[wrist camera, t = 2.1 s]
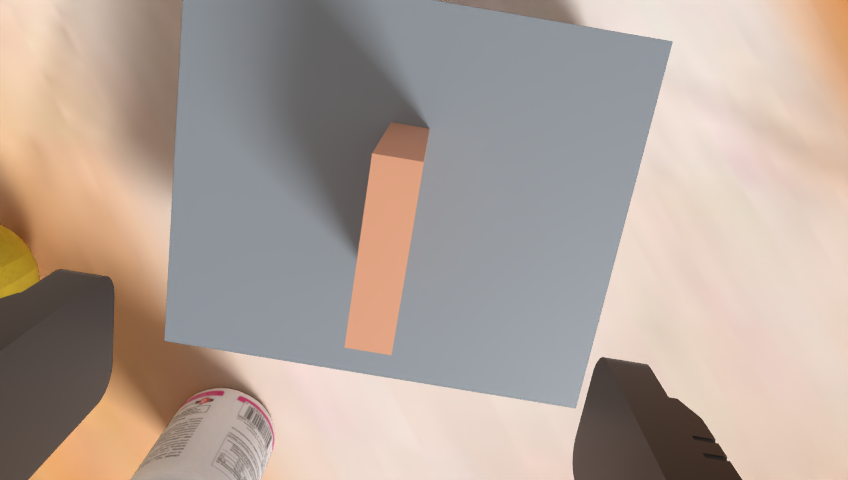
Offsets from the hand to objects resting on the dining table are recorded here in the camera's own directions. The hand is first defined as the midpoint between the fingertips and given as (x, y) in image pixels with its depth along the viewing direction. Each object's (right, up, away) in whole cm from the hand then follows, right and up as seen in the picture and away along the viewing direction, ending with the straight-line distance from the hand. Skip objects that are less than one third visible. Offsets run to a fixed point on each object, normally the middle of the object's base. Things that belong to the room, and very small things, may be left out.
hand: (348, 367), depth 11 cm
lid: (0, +4, +12) cm, 13 cm away
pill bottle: (-8, -7, +21) cm, 24 cm away
